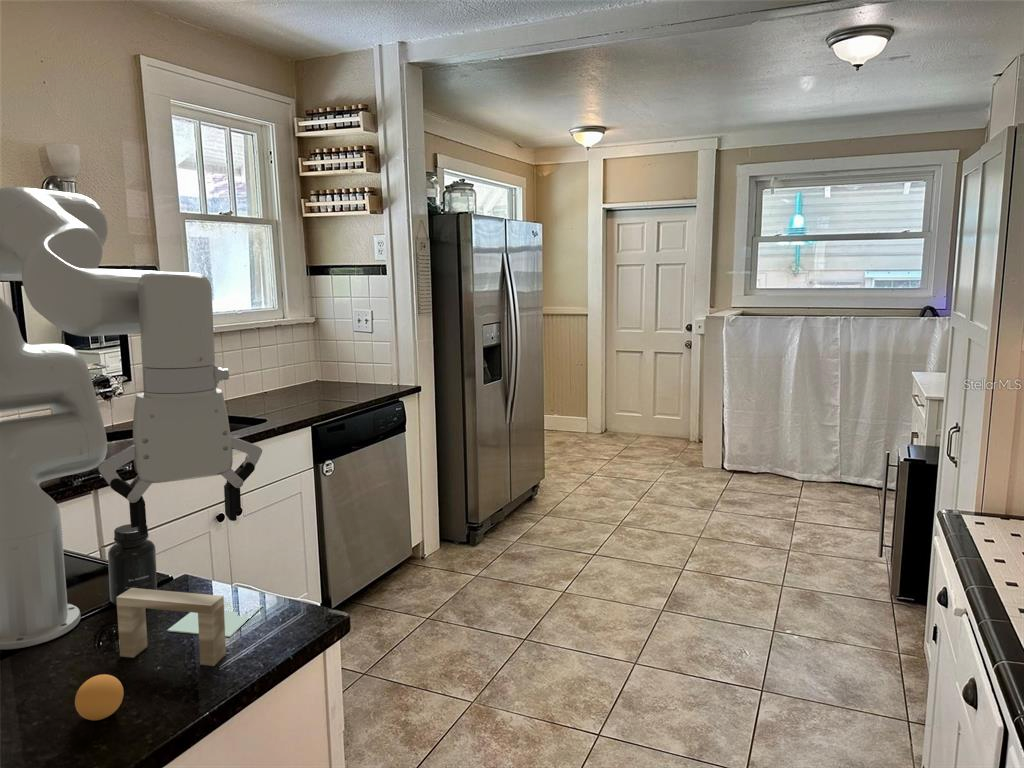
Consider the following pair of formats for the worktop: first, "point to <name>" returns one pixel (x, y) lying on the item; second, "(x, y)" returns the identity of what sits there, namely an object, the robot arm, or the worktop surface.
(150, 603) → the bridge
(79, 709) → the ball
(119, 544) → the supplement bottle
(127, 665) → the worktop surface
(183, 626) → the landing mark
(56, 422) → the robot arm
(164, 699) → the worktop surface
